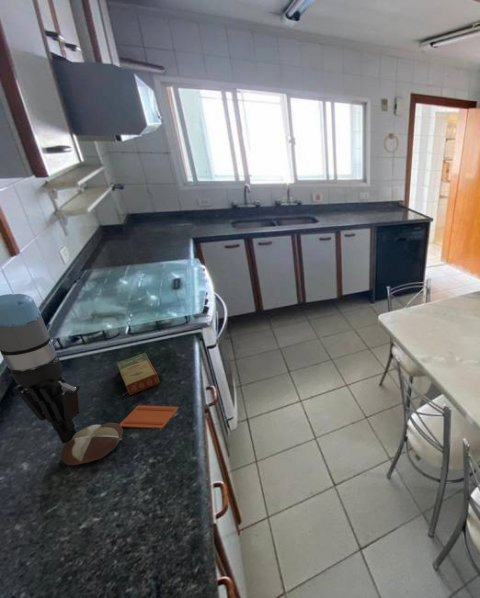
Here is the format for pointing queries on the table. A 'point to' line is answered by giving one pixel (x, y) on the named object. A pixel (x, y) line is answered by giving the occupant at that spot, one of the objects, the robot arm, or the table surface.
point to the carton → (138, 373)
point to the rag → (149, 417)
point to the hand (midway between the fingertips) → (69, 438)
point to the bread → (91, 443)
